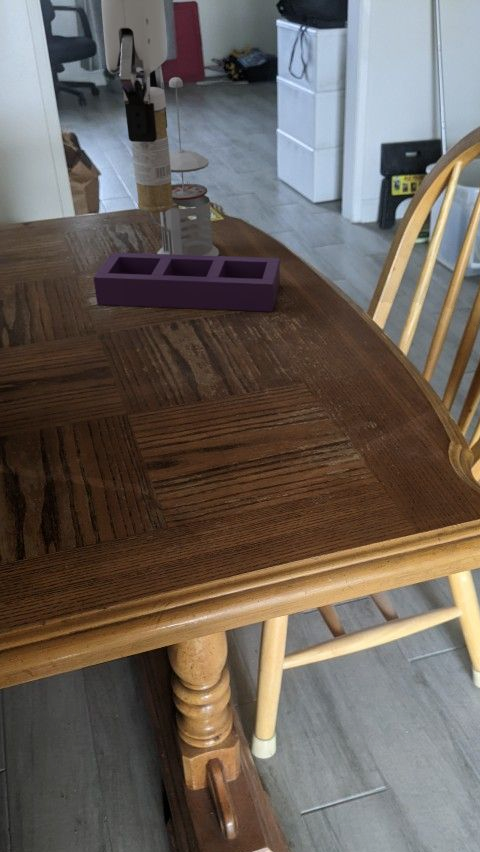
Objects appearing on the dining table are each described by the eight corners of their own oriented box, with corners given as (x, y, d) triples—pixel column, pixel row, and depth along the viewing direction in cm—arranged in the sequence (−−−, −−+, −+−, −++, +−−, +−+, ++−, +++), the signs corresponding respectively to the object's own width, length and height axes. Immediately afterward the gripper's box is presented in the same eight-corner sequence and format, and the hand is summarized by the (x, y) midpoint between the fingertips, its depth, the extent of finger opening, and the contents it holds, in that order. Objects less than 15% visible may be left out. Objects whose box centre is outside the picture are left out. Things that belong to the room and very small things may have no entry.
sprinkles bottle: (164, 199, 100) (154, 84, 92) (180, 209, 97) (171, 90, 89) (131, 206, 98) (117, 88, 90) (146, 216, 95) (133, 95, 87)
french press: (231, 254, 122) (225, 77, 107) (170, 273, 116) (154, 89, 101) (195, 237, 128) (184, 68, 113) (135, 254, 122) (114, 78, 107)
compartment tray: (273, 312, 105) (272, 283, 103) (97, 304, 108) (93, 277, 105) (279, 284, 113) (279, 258, 110) (115, 278, 115) (111, 252, 113)
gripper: (117, -56, 88) (135, 118, 99) (69, -46, 75) (97, 154, 86) (182, -57, 87) (193, 118, 98) (146, -46, 74) (163, 155, 85)
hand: (148, 133), depth 92 cm, fingers closed on sprinkles bottle, 4 cm apart
